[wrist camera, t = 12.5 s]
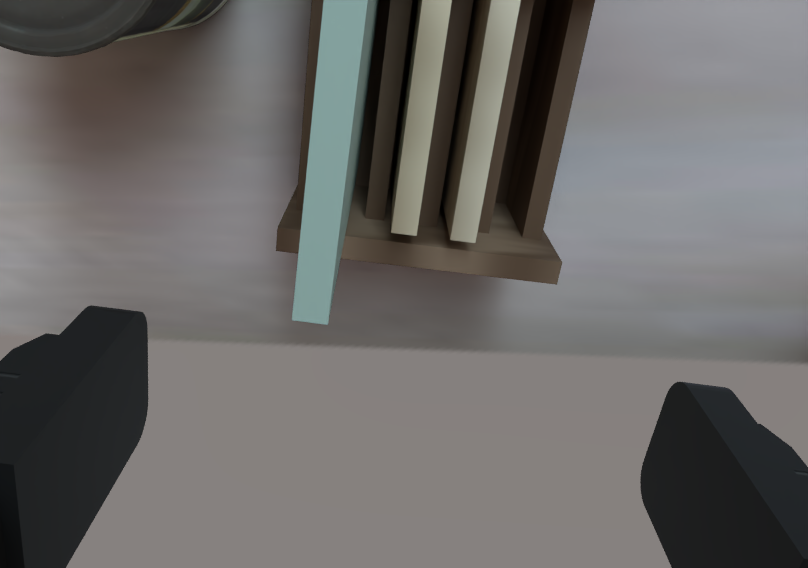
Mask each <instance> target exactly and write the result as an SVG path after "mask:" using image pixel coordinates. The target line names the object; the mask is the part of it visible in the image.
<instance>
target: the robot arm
mask: <svg viewBox="0 0 808 568" xmlns="http://www.w3.org/2000/svg"><path fill="white" fill-rule="evenodd" d="M147 409H148V337H147V321H146V317H145V315H144V313H142V312H138V311H131V310H123V309H115V308H107V307H99V306H88V307H87V308H85V309H84V310H83V311H82V312H81V313H80V314H79V315H78V316H77V317H76V319H75V320H74V321H73V322H72V323H71V324H70V325H69V326H68V327H67V328H66V329H65V330H64V331H63V332H62V333H61V334H60V335H54V334H44V335H42V336H40V337H38V338H36V339H33V340H31V341H29V342H27V343H25V344H23V345H21V346H19V347H17V348H15V349H13V350H11V351H10V352H9V353H8V354H7V355H6V356H5V357H4V358H3V359H2V360H1V361H0V568H66V566H67V564H68V563H69V561H70V559H71V558H72V556H73V554H74V552H75V550H76V549H77V547H78V546H79V544H80V542H81V540H82V539H83V537H84V535H85V534H86V532H87V530H88V528H89V527H90V525H91V523H92V522H93V520H94V518H95V516H96V514H97V513H98V511H99V509H100V508H101V506H102V504H103V502H104V501H105V499H106V497H107V496H108V494H109V492H110V490H111V489H112V487H113V485H114V484H115V482H116V480H117V478H118V477H119V475H120V473H121V472H122V470H123V468H124V466H125V465H126V463H127V461H128V460H129V458H130V456H131V454H132V453H133V451H134V449H135V448H136V446H137V444H138V442H139V440H140V438H141V435H142V432H143V429H144V425H145V421H146V416H147ZM641 494H642V499H643V503H644V506H645V508H646V510H647V513H648V515H649V517H650V519H651V521H652V524H653V526H654V528H655V530H656V533H657V535H658V537H659V539H660V542H661V544H662V546H663V549H664V551H665V553H666V555H667V557H668V560H669V562H670V564H671V567H672V568H808V467H807V466H806V465H805V463H804V462H803V461H802V460H801V458H800V457H799V456H798V455H797V453H796V452H795V451H794V450H793V449H792V447H790V446H789V445H788V444H786V443H785V442H783V441H782V440H781V439H780V438H779V437H777V436H776V435H775V434H773V433H772V432H771V431H769V430H768V429H767V428H765V427H764V426H763V425H761V424H757V422H756V421H755V420H754V418H753V417H752V416H751V415H750V413H749V412H748V411H747V410H746V408H745V407H744V406H743V404H742V403H741V402H740V401H739V399H738V398H737V397H736V395H735V394H734V393H733V392H732V391H731V390H730V389H728V388H725V387H716V386H709V385H701V384H693V383H686V382H677V383H675V384H673V386H671V388H670V389H669V391H668V393H667V395H666V398H665V401H664V404H663V407H662V410H661V412H660V415H659V419H658V421H657V424H656V427H655V430H654V433H653V436H652V438H651V441H650V444H649V447H648V450H647V453H646V456H645V459H644V462H643V466H642V470H641Z"/></svg>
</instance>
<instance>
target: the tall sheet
mask: <svg viewBox="0 0 808 568" xmlns="http://www.w3.org/2000/svg"><path fill="white" fill-rule="evenodd" d="M379 1H380V0H324V2H323V12H322V22H321V32H320V42H319V52H318V62H317V72H316V82H315V92H314V102H313V112H312V122H311V133H310V143H309V153H308V163H307V173H306V183H305V193H304V203H303V213H302V223H301V233H300V243H299V253H298V263H297V273H296V284H295V294H294V304H293V314H292V320H294V321H302V322H309V323H317V324H325V325H328V321H329V316H330V311H331V306H332V301H333V295H334V290H335V285H336V280H337V275H338V270H339V264H340V259H341V254H342V249H343V244H344V239H345V233H346V228H347V223H348V218H349V213H350V208H351V202H352V197H353V192H354V187H355V182H356V176H357V171H358V163H359V156H360V148H361V140H362V133H363V125H364V117H365V109H366V102H367V94H368V86H369V78H370V71H371V63H372V55H373V48H374V40H375V32H376V24H377V17H378V9H379Z"/></svg>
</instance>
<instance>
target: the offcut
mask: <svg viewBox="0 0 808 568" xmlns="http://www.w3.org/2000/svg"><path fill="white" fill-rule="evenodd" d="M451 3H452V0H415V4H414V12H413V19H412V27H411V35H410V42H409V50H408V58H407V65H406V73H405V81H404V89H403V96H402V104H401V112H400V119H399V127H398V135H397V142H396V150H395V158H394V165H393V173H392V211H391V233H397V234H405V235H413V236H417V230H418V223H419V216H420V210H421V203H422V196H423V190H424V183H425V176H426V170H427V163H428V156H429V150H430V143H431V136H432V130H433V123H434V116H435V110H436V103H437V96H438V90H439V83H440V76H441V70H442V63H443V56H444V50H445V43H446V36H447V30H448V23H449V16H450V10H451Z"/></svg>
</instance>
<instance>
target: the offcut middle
mask: <svg viewBox="0 0 808 568" xmlns="http://www.w3.org/2000/svg"><path fill="white" fill-rule="evenodd" d="M520 2H521V0H473V6H472V12H471V18H470V24H469V30H468V37H467V43H466V49H465V55H464V61H463V68H462V74H461V80H460V86H459V92H458V99H457V105H456V111H455V117H454V123H453V130H452V136H451V142H450V148H449V154H448V160H447V167H446V173H445V179H444V185H443V191H442V203H443V208H444V213H445V217H446V222H447V227H448V232H449V236H450V240H454V241H462V242H470V243H475V242H476V237H477V232H478V226H479V221H480V216H481V210H482V205H483V200H484V194H485V189H486V184H487V178H488V173H489V168H490V162H491V157H492V152H493V146H494V141H495V136H496V130H497V125H498V120H499V114H500V109H501V103H502V98H503V93H504V87H505V82H506V77H507V71H508V66H509V61H510V55H511V50H512V45H513V39H514V34H515V29H516V23H517V18H518V13H519V7H520Z"/></svg>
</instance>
